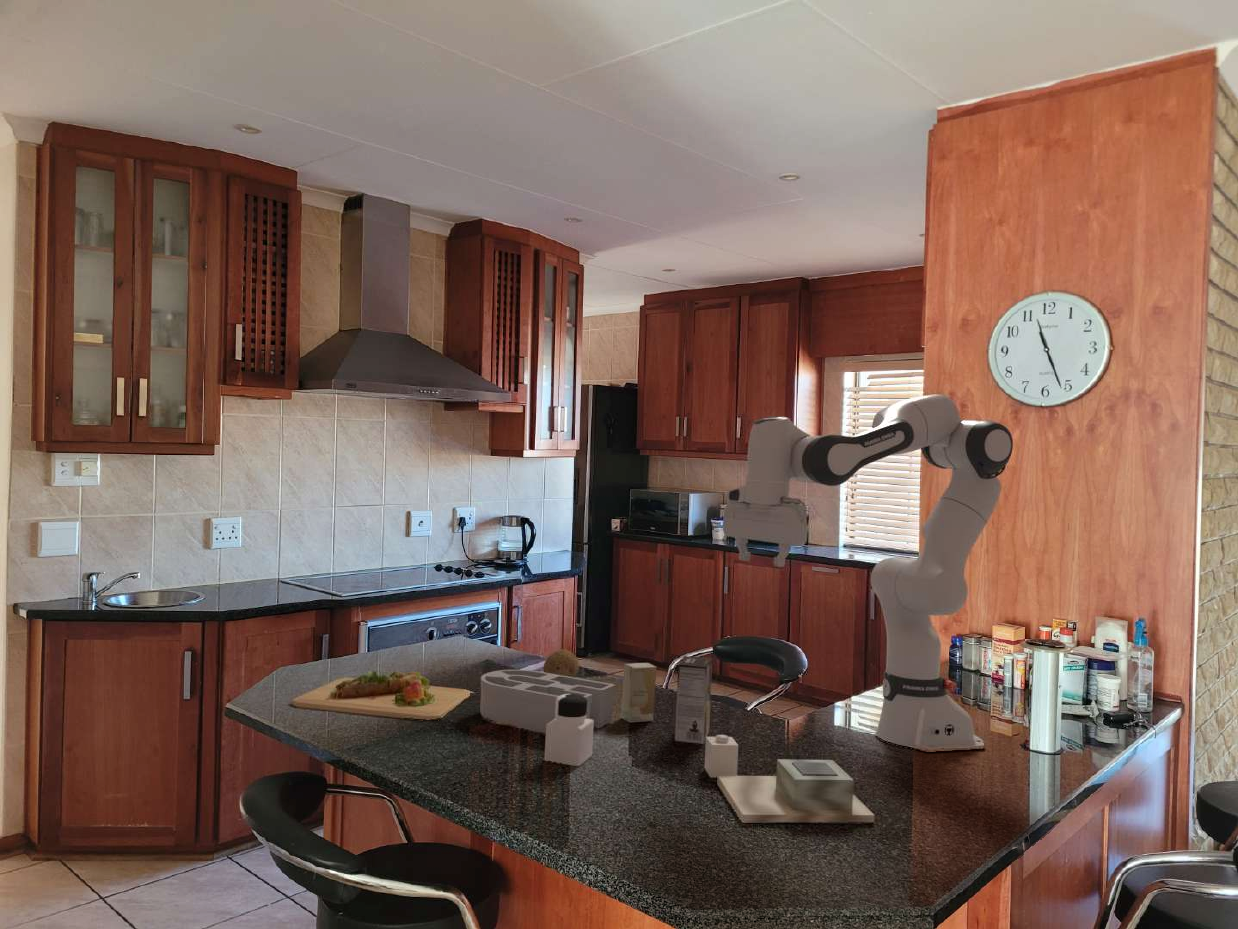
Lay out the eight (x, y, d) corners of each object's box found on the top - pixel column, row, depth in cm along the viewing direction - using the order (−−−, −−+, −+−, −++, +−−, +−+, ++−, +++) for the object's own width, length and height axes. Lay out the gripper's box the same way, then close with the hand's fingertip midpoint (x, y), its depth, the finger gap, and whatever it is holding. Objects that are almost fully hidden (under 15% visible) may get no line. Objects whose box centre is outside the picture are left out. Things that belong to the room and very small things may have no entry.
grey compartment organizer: (576, 743, 183) (578, 700, 183) (463, 719, 196) (465, 680, 196) (613, 724, 198) (615, 684, 198) (506, 703, 210) (508, 666, 210)
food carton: (679, 729, 196) (683, 655, 196) (709, 732, 194) (713, 657, 194) (673, 741, 187) (677, 663, 187) (704, 744, 185) (708, 666, 185)
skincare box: (629, 723, 198) (632, 667, 198) (620, 718, 202) (622, 663, 202) (654, 721, 201) (657, 666, 201) (645, 715, 205) (647, 661, 205)
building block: (730, 768, 172) (732, 732, 172) (736, 777, 167) (738, 741, 167) (704, 768, 171) (706, 732, 171) (710, 777, 166) (712, 740, 166)
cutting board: (476, 698, 215) (477, 666, 215) (438, 725, 192) (439, 689, 192) (340, 684, 222) (342, 654, 222) (288, 709, 199) (289, 674, 199)
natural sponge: (576, 695, 220) (578, 654, 220) (540, 693, 220) (542, 652, 220) (578, 686, 229) (580, 646, 229) (543, 684, 229) (545, 645, 229)
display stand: (835, 784, 165) (836, 748, 165) (874, 824, 147) (876, 783, 147) (717, 784, 163) (719, 746, 163) (742, 824, 145) (744, 782, 145)
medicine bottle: (592, 756, 175) (595, 694, 175) (579, 767, 168) (582, 702, 168) (558, 750, 177) (561, 689, 177) (543, 761, 170) (546, 697, 170)
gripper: (816, 499, 178) (811, 570, 178) (741, 493, 194) (736, 557, 194) (795, 498, 174) (790, 570, 174) (720, 491, 190) (715, 557, 190)
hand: (761, 563), depth 184 cm, fingers open, 8 cm apart
